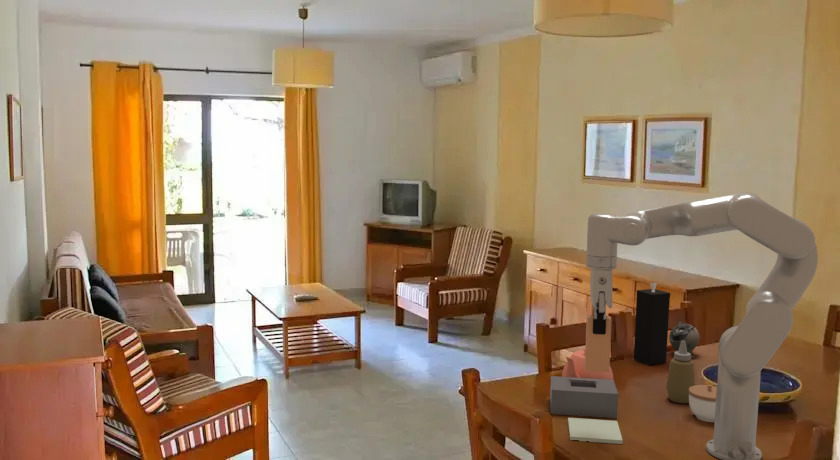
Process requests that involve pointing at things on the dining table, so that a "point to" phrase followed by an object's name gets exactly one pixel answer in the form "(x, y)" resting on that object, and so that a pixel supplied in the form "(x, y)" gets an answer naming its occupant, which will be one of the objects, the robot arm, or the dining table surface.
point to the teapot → (582, 368)
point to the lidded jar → (703, 401)
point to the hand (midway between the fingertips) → (598, 331)
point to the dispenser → (583, 397)
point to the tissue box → (651, 326)
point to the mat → (594, 430)
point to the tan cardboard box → (597, 347)
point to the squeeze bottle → (680, 375)
